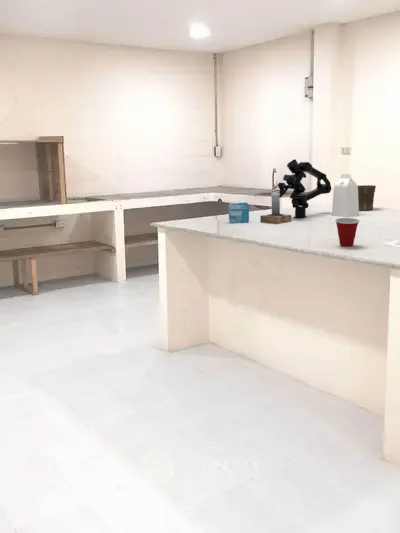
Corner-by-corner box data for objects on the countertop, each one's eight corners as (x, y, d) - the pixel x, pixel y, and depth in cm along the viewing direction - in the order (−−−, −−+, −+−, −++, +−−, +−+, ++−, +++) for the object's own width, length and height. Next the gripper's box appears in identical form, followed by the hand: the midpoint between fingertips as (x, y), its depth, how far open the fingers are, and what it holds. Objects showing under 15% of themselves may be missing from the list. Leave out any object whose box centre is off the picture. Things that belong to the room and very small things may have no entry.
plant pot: (347, 209, 391) (347, 185, 388) (369, 208, 393) (370, 184, 389) (356, 212, 375) (356, 187, 372) (379, 210, 377) (380, 186, 373)
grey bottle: (278, 213, 345) (278, 192, 343) (281, 214, 340) (280, 192, 338) (270, 214, 344) (270, 192, 342) (273, 215, 340) (272, 193, 337)
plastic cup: (338, 248, 254) (339, 221, 251) (331, 244, 264) (331, 218, 262) (362, 247, 254) (363, 220, 252) (354, 242, 265) (355, 217, 262)
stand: (275, 219, 352) (275, 212, 351) (291, 221, 342) (291, 214, 341) (260, 222, 344) (260, 214, 343) (276, 224, 334) (276, 216, 333)
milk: (358, 215, 358) (359, 173, 352) (346, 217, 351) (347, 174, 346) (344, 214, 367) (344, 173, 362) (331, 215, 361) (332, 174, 356)
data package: (229, 223, 345) (228, 203, 343) (228, 222, 350) (228, 202, 347) (249, 222, 345) (248, 202, 343) (248, 221, 350) (247, 202, 347)
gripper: (279, 169, 354) (266, 188, 349) (302, 169, 339) (289, 189, 335) (287, 181, 360) (276, 200, 356) (310, 182, 346) (298, 202, 341)
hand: (284, 198), depth 347 cm, fingers open, 9 cm apart
